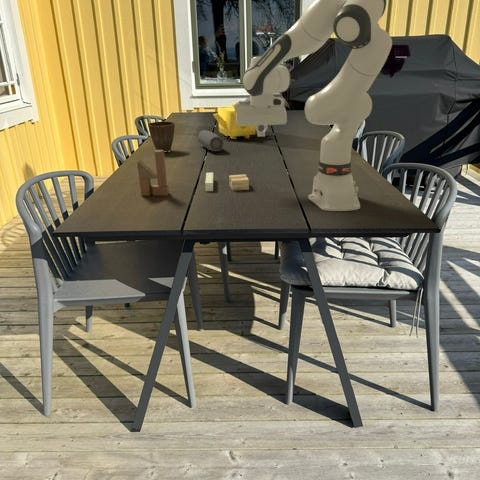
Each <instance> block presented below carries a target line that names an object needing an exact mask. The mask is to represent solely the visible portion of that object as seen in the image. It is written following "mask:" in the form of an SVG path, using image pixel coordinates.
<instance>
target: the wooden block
mask: <svg viewBox="0 0 480 480" xmlns="http://www.w3.org/2000/svg"><path fill="white" fill-rule="evenodd" d="M154 158H155V166H156V167H155V169H156V172H155V171H153V170H152V168H150V167H149V166H148V165H147V164H146V163H144V161H142V160H141V159H138V160H137V170H138V171H137V172H138V179H139V187H140V195H141V196H143V197H145V196H146V197H149V196H151V195H152V196H163V197H164V196H165V197H167V196H168V195H169V192H170V188H169V185H168V181H167V171H166V161H165V159H166V158H165V153H164V151H163V150H156V149H155V150H154ZM154 179H156V180H157V184H151V183H152V182H151V180H154Z"/></svg>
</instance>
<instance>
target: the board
mask: <svg viewBox="0 0 480 480" xmlns="http://www.w3.org/2000/svg"><path fill="white" fill-rule="evenodd" d="M204 184H205V185H204V186H205V192H214V172H206V173H205V183H204Z"/></svg>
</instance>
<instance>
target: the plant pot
mask: <svg viewBox="0 0 480 480" xmlns="http://www.w3.org/2000/svg"><path fill="white" fill-rule="evenodd" d="M147 126H148V132H149V136H150V138H151V141H152V143H153V146H154V148H155V151H156V150H163V151H169V150H170V151H172V146H173V141H174V137H175V136H174V135H175V129H176V128H175V122H174V121H153V122H149V123H147Z"/></svg>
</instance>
